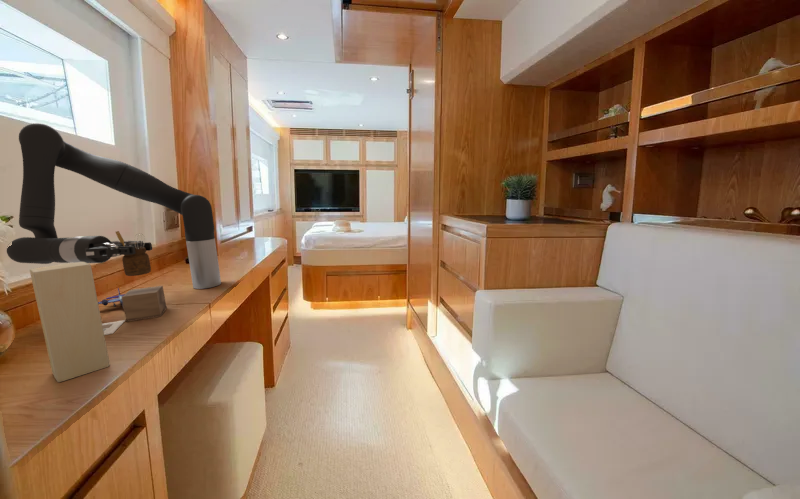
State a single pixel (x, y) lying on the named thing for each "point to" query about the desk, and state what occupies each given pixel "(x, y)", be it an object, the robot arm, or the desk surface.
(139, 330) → the desk surface
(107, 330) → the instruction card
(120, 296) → the toy airplane
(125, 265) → the utensil holder
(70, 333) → the toy refrigerator
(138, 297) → the walnut base block
